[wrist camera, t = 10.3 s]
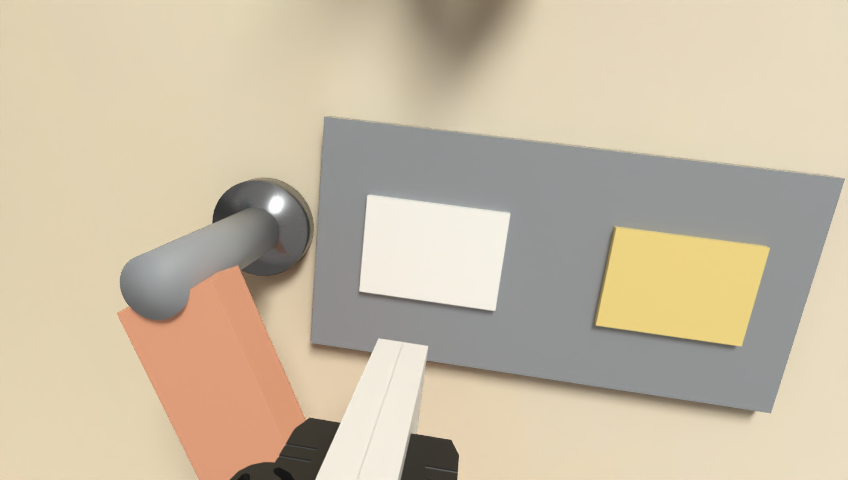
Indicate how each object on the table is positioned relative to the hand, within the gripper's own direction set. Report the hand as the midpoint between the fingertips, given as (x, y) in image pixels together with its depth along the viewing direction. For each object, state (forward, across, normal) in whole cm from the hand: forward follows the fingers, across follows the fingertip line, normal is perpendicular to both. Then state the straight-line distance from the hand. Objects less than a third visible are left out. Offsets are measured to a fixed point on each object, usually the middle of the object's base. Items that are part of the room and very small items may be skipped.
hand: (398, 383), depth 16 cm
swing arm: (+11, -4, -10) cm, 15 cm away
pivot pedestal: (+13, -9, +1) cm, 15 cm away
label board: (+12, +6, +1) cm, 14 cm away
